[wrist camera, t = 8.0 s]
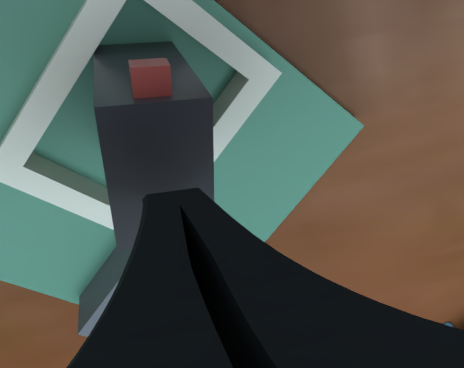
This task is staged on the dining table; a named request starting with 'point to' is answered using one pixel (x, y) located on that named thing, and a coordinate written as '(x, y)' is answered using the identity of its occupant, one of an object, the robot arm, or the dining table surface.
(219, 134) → the circuit board
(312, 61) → the dining table surface
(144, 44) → the dark grey upright block
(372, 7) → the dining table surface
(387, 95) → the dining table surface
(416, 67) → the dining table surface
